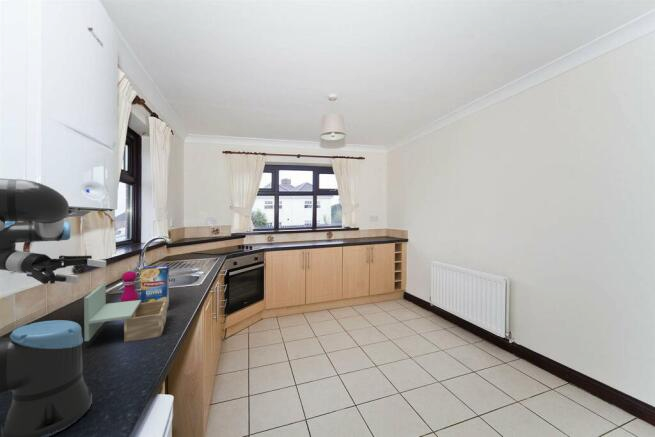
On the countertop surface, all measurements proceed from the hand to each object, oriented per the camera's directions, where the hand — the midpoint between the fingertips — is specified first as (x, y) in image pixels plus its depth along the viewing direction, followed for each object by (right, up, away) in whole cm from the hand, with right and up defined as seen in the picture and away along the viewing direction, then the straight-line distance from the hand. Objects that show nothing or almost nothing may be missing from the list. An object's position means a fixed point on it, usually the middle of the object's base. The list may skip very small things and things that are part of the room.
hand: (92, 271), depth 99 cm
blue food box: (+3, -26, +32) cm, 42 cm away
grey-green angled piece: (+4, -24, +6) cm, 25 cm away
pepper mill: (-13, -26, +36) cm, 46 cm away
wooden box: (+13, -27, +11) cm, 32 cm away
